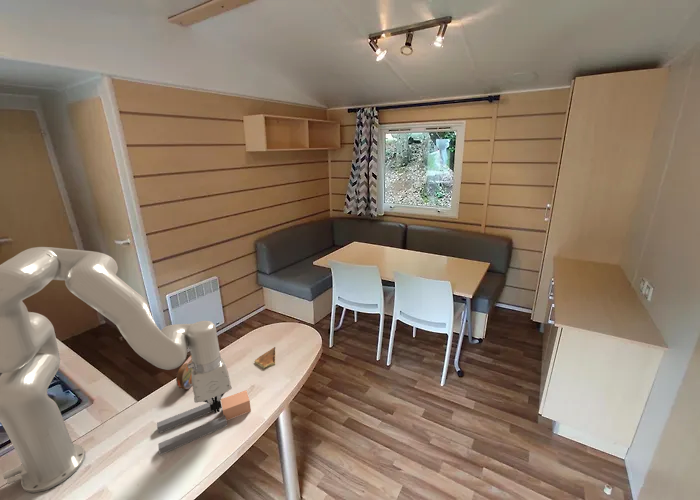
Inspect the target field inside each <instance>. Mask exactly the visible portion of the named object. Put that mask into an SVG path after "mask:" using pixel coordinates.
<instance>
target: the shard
mask: <svg viewBox="0 0 700 500" xmlns="http://www.w3.org/2000/svg"><path fill="white" fill-rule="evenodd" d="M253 362H254V364H257V365H258V366H260V367H261V368H262V369H265V368H266V367H267V368H268V367H270V366H275V365H276V346H273V348H271V349H269V350H268V351H266V352H265V353H263V354H261V355H260V356H258V357H257V358H256V359H254V361H253Z"/></svg>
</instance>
